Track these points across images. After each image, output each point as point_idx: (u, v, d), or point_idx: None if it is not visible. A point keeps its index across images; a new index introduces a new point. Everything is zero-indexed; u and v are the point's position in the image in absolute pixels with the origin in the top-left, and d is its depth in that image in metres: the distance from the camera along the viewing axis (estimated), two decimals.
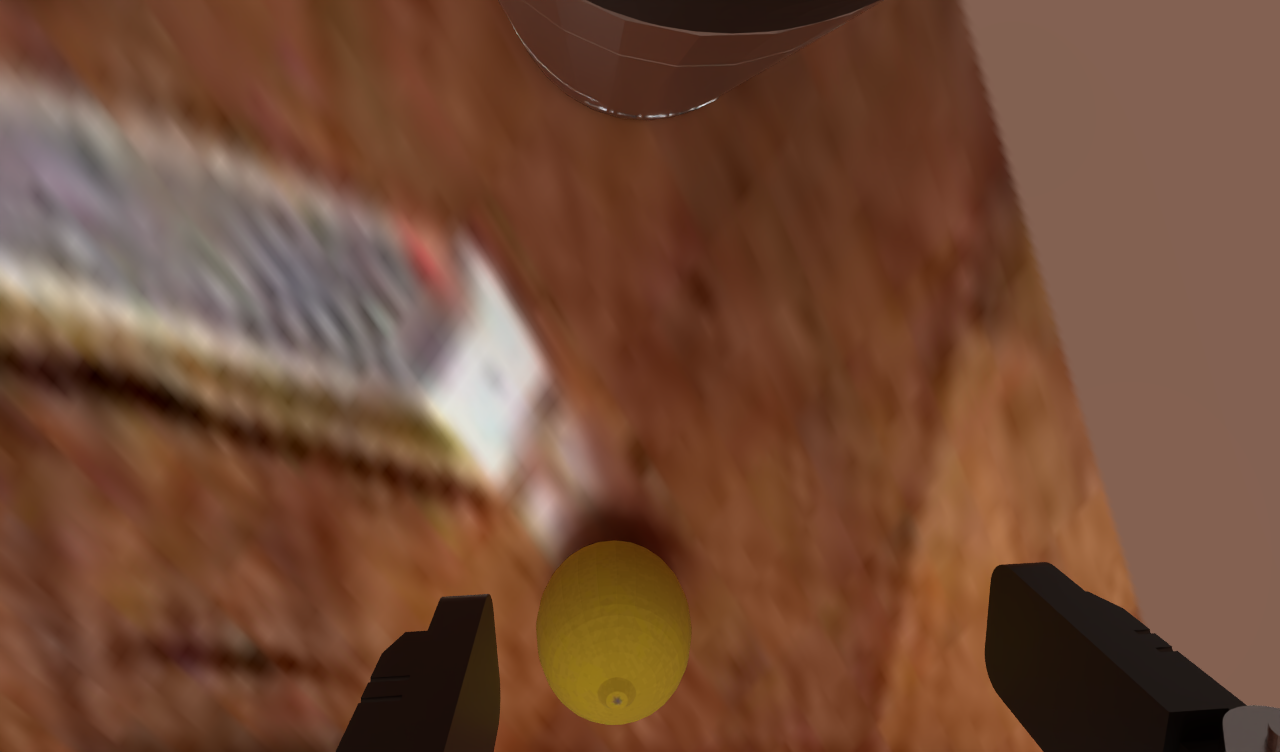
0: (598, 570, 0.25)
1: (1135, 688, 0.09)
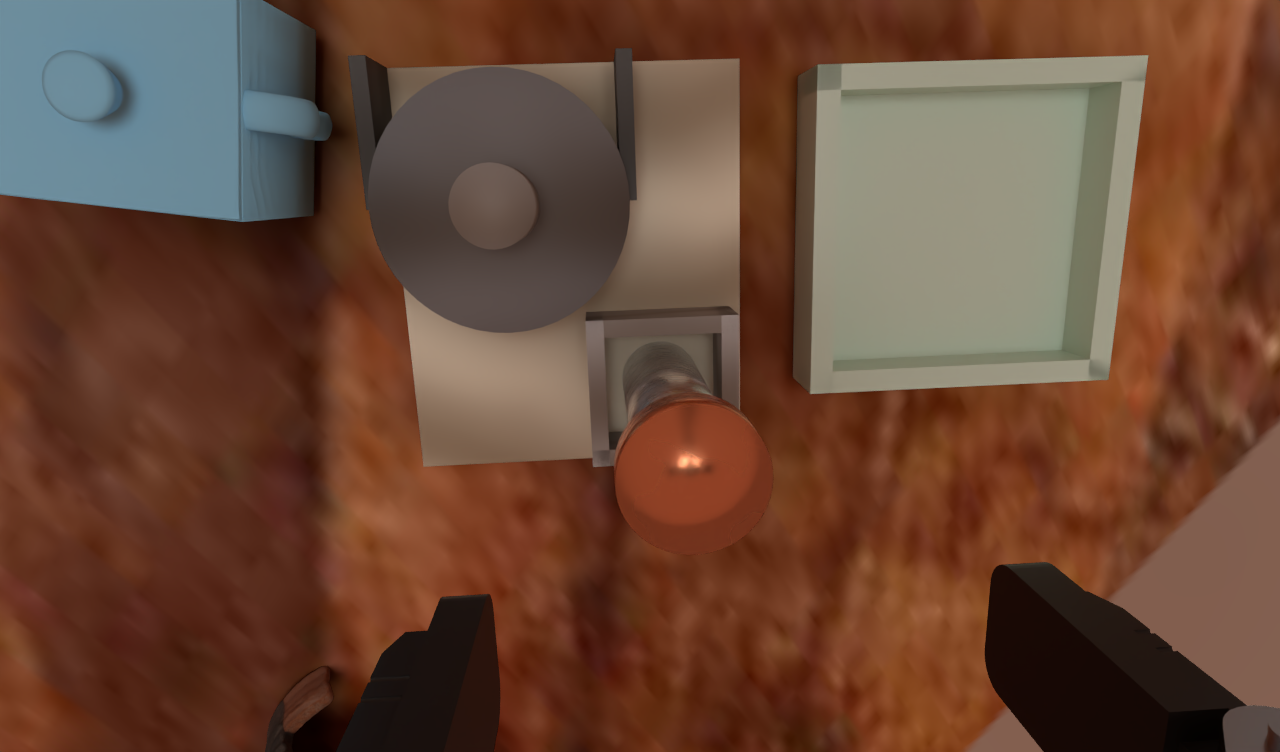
0: None
1: (1135, 688, 0.09)
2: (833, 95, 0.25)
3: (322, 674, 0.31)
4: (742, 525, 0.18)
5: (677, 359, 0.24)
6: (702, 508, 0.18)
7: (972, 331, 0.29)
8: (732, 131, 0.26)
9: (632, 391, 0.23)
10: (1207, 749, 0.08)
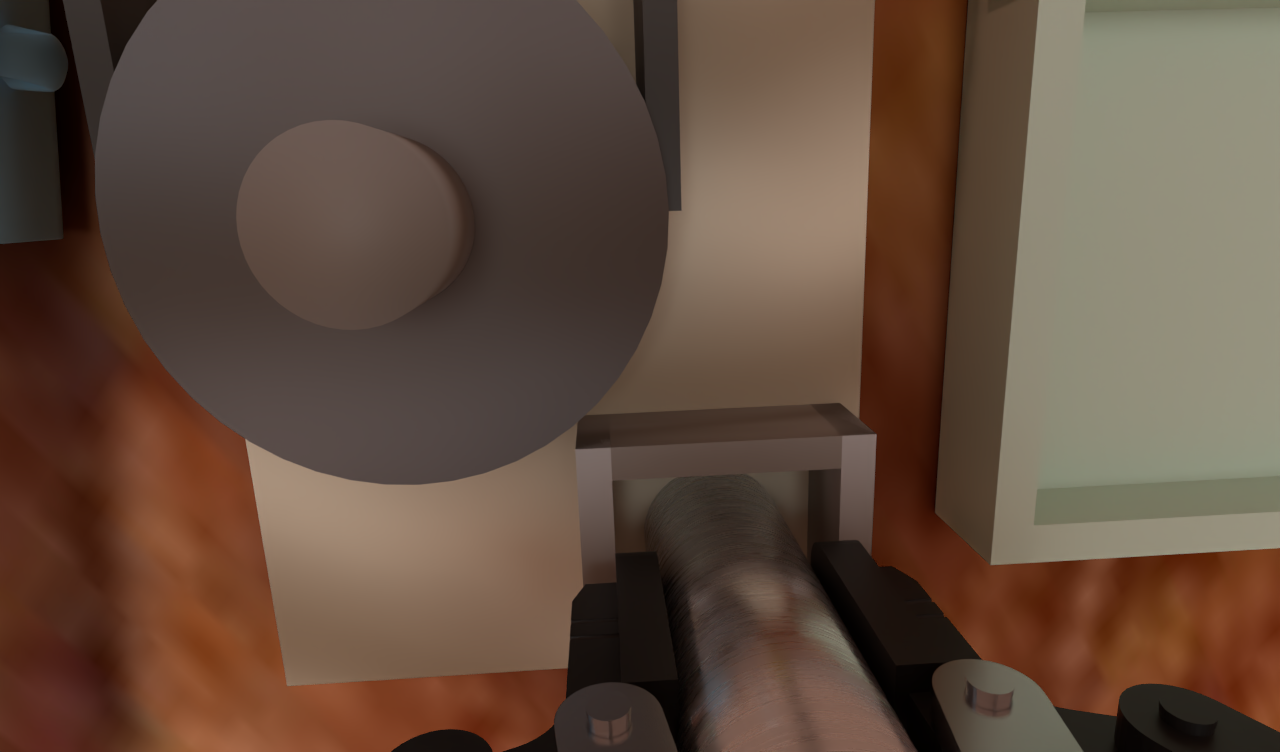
0: None
1: (881, 646, 0.10)
2: (1071, 0, 0.12)
3: None
4: None
5: (760, 530, 0.12)
6: None
7: (1258, 439, 0.16)
8: (857, 77, 0.13)
9: (674, 621, 0.11)
10: (931, 698, 0.09)
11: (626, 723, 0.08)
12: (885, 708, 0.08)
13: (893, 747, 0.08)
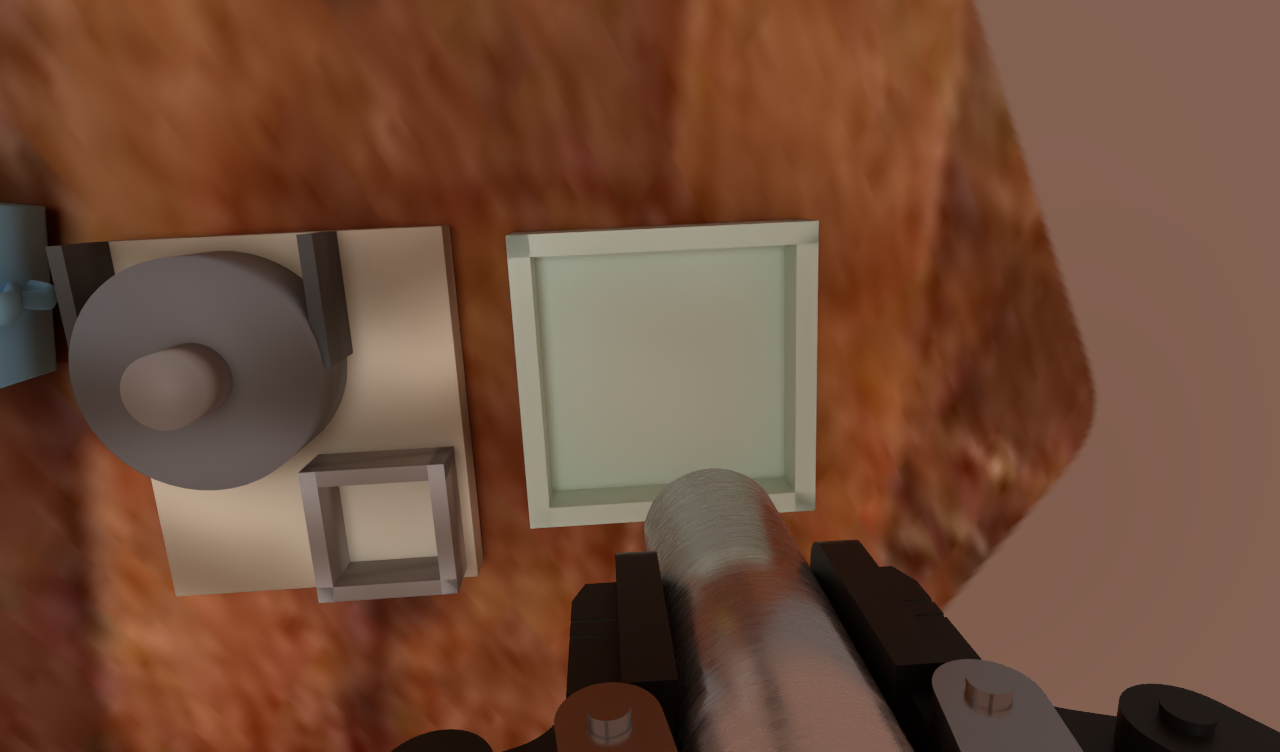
0: None
1: (881, 646, 0.10)
2: (523, 262, 0.26)
3: None
4: None
5: (760, 533, 0.12)
6: None
7: (696, 461, 0.30)
8: (441, 290, 0.27)
9: (674, 623, 0.11)
10: (930, 698, 0.09)
11: (627, 723, 0.08)
12: (884, 711, 0.08)
13: (892, 750, 0.08)
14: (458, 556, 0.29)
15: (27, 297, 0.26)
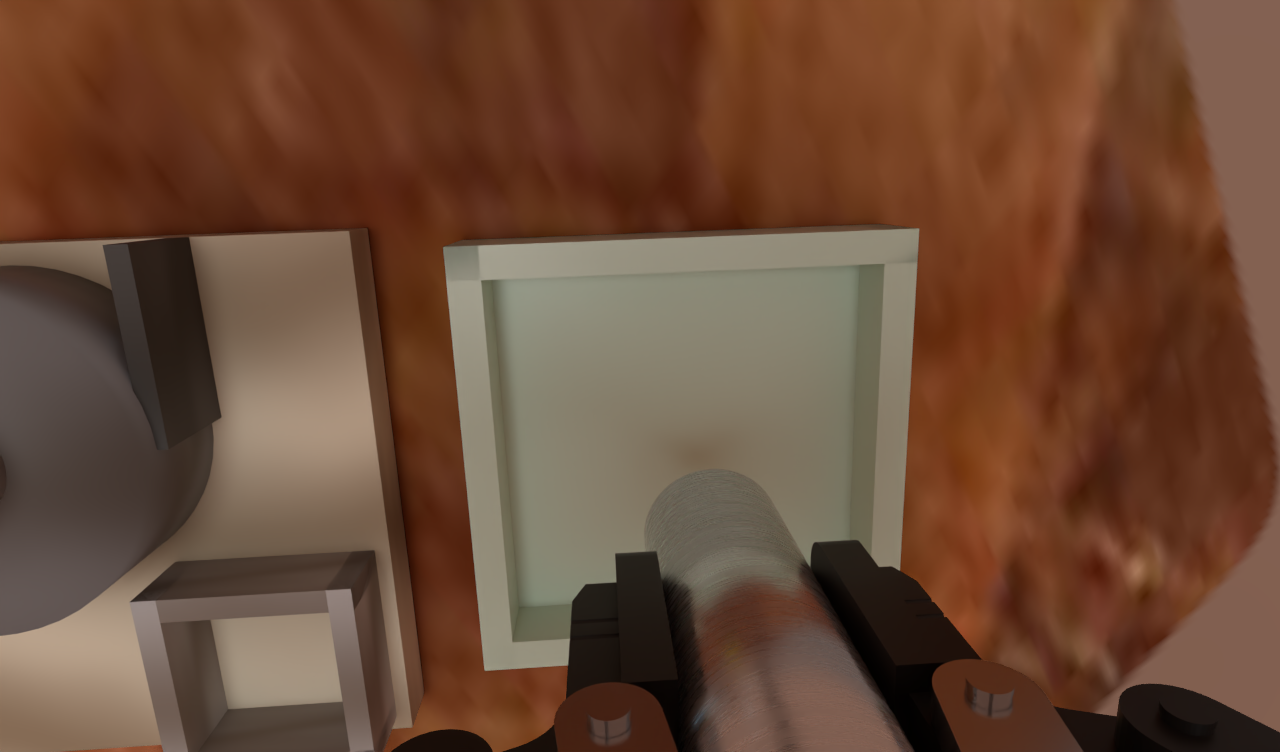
0: None
1: (881, 646, 0.10)
2: (470, 288, 0.17)
3: None
4: None
5: (760, 533, 0.12)
6: None
7: None
8: (350, 326, 0.18)
9: (675, 624, 0.11)
10: (930, 698, 0.09)
11: (627, 723, 0.08)
12: (885, 712, 0.08)
13: None
14: (379, 711, 0.20)
15: None
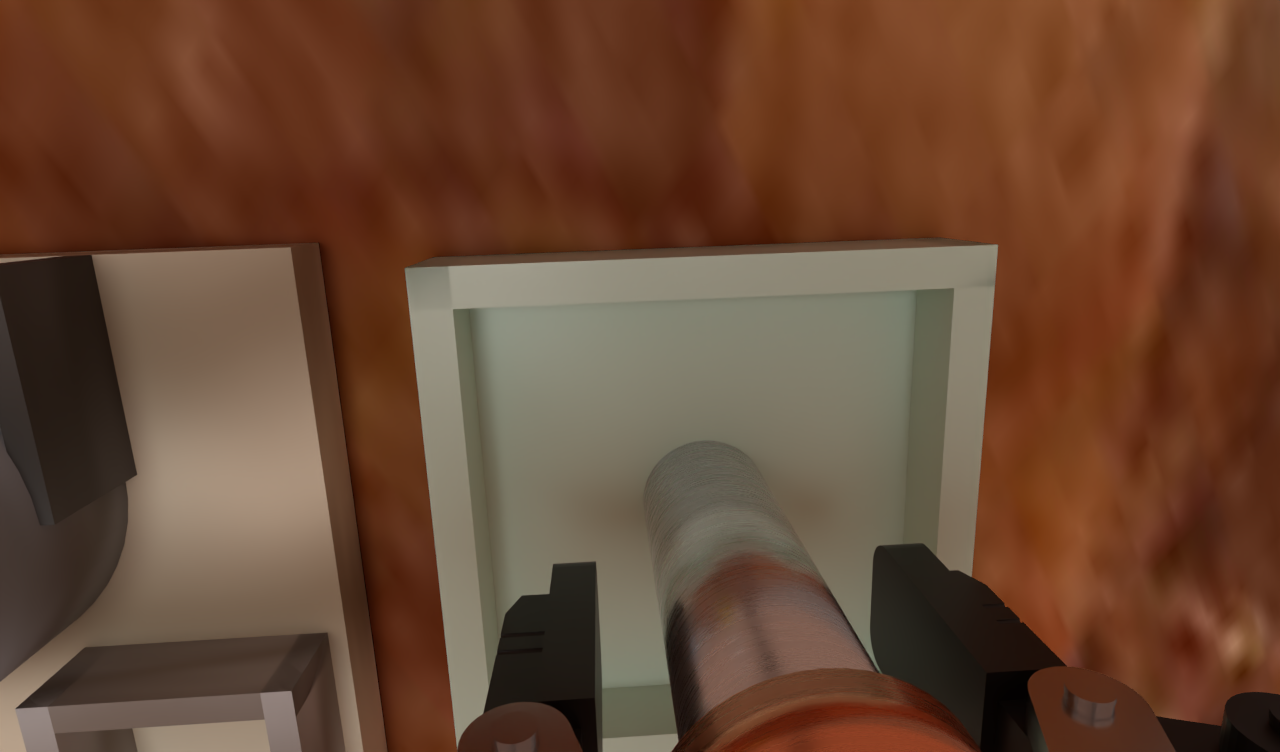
0: None
1: (966, 653, 0.09)
2: (440, 318, 0.14)
3: None
4: None
5: (745, 491, 0.14)
6: None
7: None
8: (294, 364, 0.15)
9: (669, 565, 0.12)
10: (1021, 707, 0.09)
11: (534, 743, 0.08)
12: (844, 624, 0.10)
13: (847, 648, 0.09)
14: None
15: None
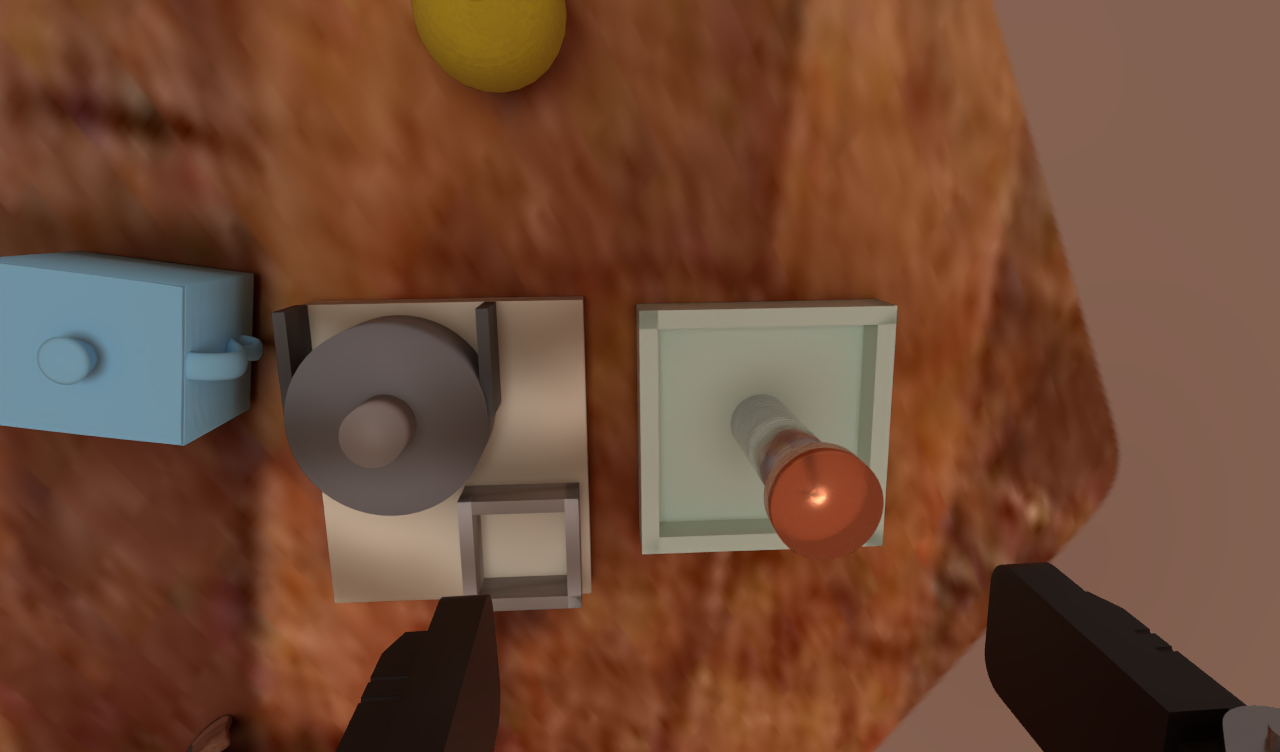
0: None
1: (1135, 688, 0.09)
2: (652, 333, 0.32)
3: (224, 722, 0.37)
4: (859, 539, 0.25)
5: (785, 411, 0.32)
6: (832, 526, 0.25)
7: None
8: (578, 352, 0.33)
9: (755, 436, 0.30)
10: (1207, 749, 0.08)
11: None
12: None
13: None
14: (581, 576, 0.34)
15: None
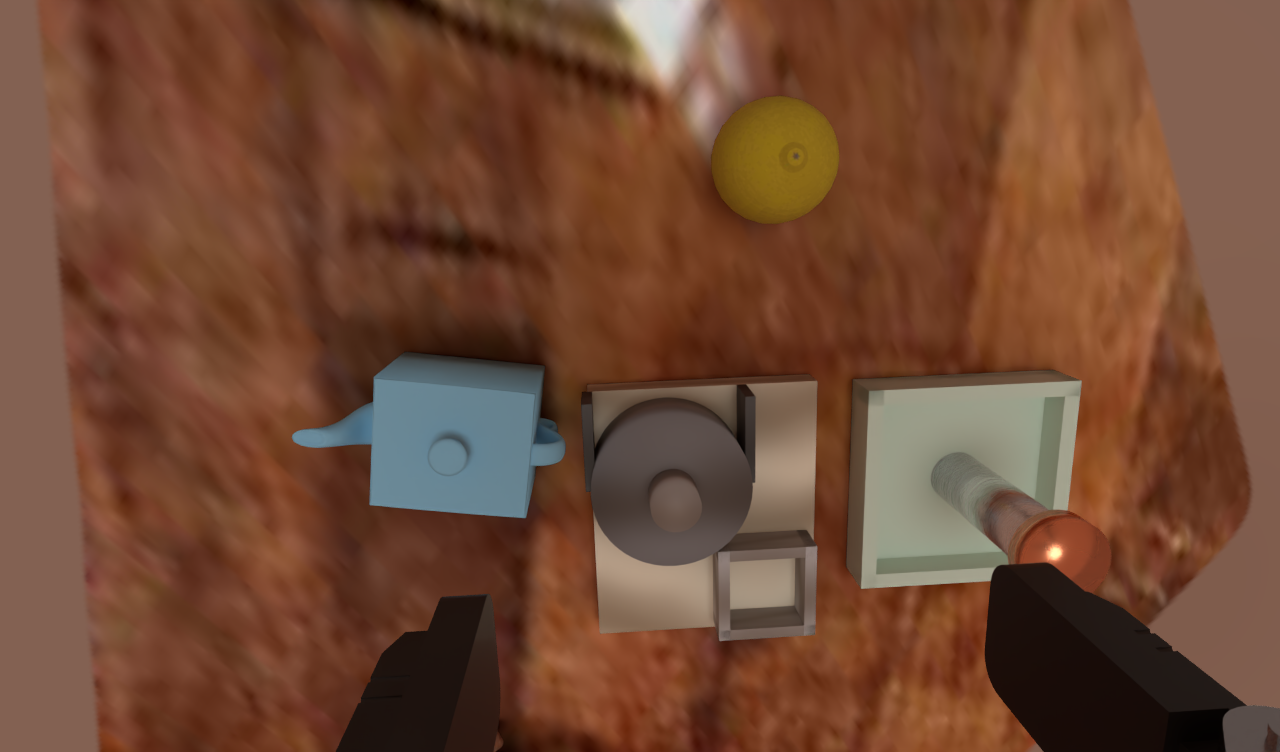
0: (767, 97, 0.32)
1: (1135, 688, 0.09)
2: (878, 408, 0.38)
3: None
4: (1090, 586, 0.32)
5: (990, 471, 0.38)
6: (1069, 577, 0.31)
7: (969, 539, 0.42)
8: (811, 423, 0.39)
9: (973, 495, 0.37)
10: (1207, 749, 0.08)
11: None
12: (1045, 507, 0.34)
13: None
14: None
15: None
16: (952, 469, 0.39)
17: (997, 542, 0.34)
